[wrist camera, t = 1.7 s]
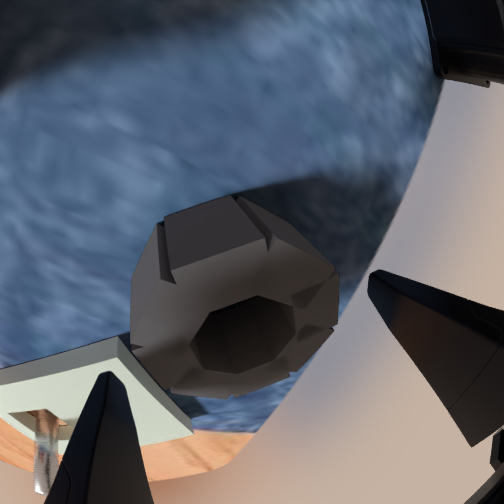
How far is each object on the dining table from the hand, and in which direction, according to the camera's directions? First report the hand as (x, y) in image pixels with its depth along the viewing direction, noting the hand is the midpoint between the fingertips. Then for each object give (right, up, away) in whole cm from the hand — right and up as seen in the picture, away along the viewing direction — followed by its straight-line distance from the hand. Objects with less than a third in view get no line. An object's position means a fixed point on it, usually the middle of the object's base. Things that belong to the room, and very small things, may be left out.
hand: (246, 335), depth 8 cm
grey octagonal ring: (-1, +1, +2) cm, 3 cm away
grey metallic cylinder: (-13, -7, +3) cm, 15 cm away
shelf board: (-10, -7, +4) cm, 13 cm away
